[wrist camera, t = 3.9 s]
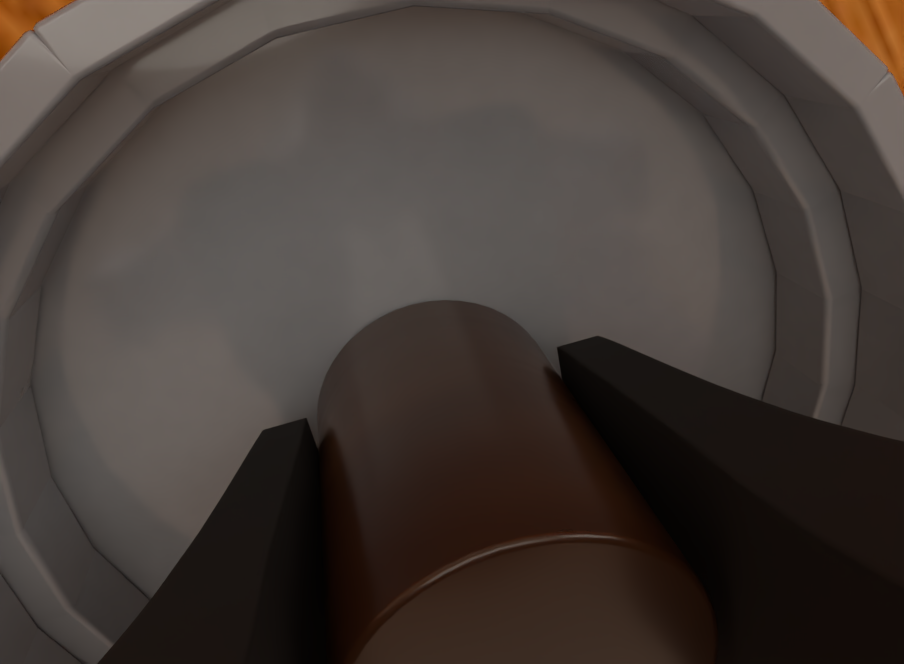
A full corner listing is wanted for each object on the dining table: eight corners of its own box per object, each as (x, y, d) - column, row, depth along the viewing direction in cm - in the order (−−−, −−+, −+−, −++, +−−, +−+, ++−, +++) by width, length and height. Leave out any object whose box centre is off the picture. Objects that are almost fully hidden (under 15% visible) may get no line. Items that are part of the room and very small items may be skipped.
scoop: (531, 269, 10) (714, 482, 6) (597, 664, 14) (736, 974, 9) (284, 337, 10) (271, 618, 5) (422, 720, 14) (481, 1067, 9)
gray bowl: (824, -185, 9) (1053, -268, 6) (800, 565, 15) (912, 690, 12) (-266, 58, 8) (-569, 89, 5) (181, 762, 14) (152, 949, 11)
